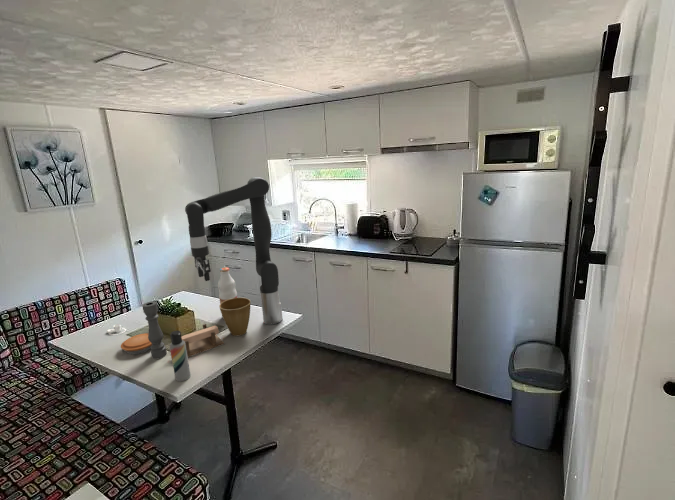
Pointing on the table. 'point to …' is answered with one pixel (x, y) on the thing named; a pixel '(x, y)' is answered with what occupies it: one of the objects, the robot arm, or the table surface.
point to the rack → (203, 344)
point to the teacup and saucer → (116, 329)
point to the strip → (200, 334)
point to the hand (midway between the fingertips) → (204, 278)
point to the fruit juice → (226, 286)
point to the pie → (137, 344)
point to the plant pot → (236, 315)
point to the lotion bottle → (179, 356)
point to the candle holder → (154, 330)
